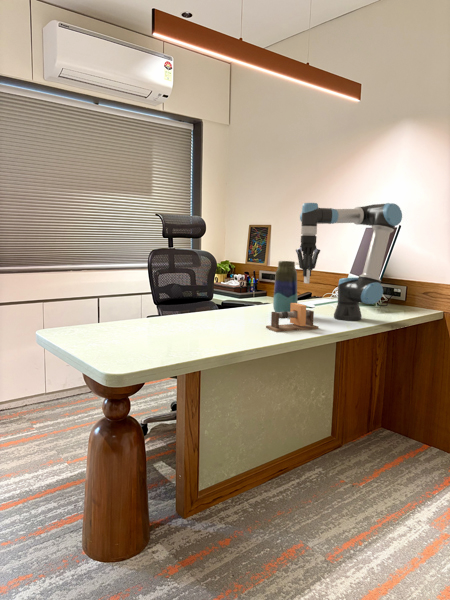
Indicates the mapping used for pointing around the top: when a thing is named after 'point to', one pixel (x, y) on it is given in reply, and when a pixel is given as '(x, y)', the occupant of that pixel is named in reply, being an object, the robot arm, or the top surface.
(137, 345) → the top surface
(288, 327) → the pipe rig
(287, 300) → the vase
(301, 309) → the collar
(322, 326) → the top surface
